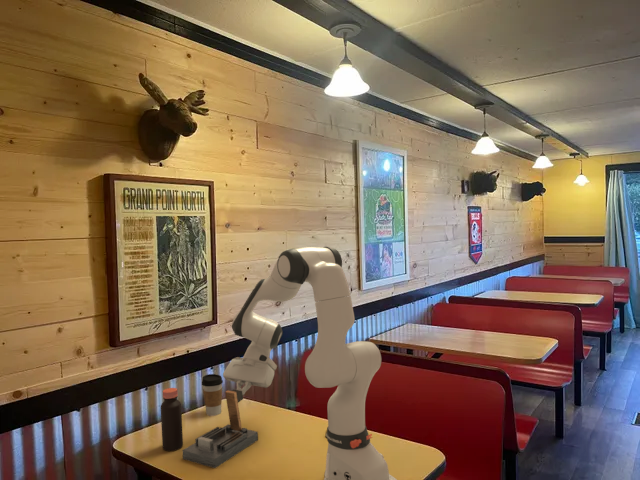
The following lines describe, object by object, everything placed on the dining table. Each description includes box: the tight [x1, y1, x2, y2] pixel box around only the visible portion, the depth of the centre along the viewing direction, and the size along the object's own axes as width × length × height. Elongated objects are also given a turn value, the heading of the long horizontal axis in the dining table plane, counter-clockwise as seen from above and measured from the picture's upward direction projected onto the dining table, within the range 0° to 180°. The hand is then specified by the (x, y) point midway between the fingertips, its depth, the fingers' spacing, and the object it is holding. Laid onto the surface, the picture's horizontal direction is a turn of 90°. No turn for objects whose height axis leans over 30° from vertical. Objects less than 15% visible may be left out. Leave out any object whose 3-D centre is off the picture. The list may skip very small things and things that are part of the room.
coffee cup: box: [201, 373, 224, 417], centre depth 199 cm, size 8×8×15 cm
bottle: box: [160, 387, 184, 452], centre depth 169 cm, size 7×7×20 cm
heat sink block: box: [182, 423, 259, 469], centre depth 166 cm, size 22×14×6 cm, turn 150°
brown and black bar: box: [224, 389, 244, 432], centre depth 173 cm, size 4×4×15 cm
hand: (239, 394), depth 174 cm, fingers closed, pressing on brown and black bar
